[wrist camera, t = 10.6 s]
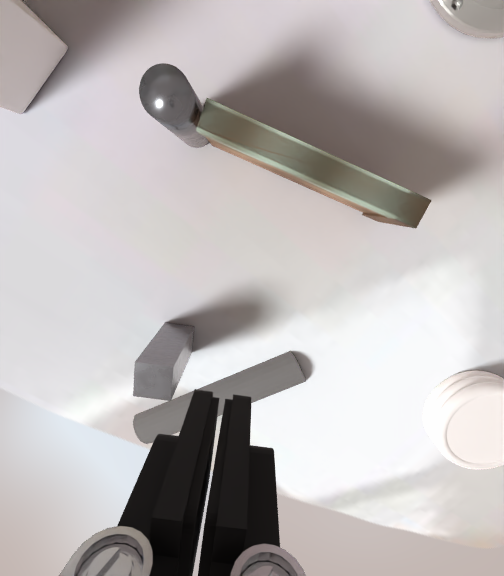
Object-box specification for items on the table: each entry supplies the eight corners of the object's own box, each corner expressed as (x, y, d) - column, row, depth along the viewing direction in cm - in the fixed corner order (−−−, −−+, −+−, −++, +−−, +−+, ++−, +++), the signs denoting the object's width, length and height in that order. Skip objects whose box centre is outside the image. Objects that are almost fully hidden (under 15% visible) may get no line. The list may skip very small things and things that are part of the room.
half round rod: (133, 411, 37) (127, 422, 35) (292, 346, 34) (293, 353, 33) (151, 440, 38) (146, 452, 36) (307, 378, 35) (309, 388, 34)
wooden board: (211, 147, 28) (196, 130, 21) (220, 124, 27) (206, 97, 20) (377, 221, 29) (416, 228, 22) (388, 200, 29) (431, 200, 22)
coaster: (533, 404, 35) (562, 425, 32) (463, 462, 37) (483, 488, 34) (470, 350, 34) (494, 367, 30) (401, 414, 36) (416, 436, 33)
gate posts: (215, 113, 28) (192, 67, 19) (191, 352, 34) (165, 412, 25) (180, 108, 28) (140, 59, 19) (163, 348, 34) (125, 407, 25)
